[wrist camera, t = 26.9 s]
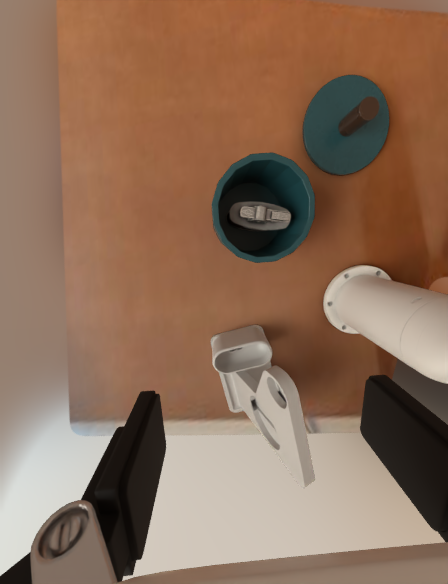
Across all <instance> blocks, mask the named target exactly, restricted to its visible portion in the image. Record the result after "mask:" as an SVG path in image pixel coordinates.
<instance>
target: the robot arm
mask: <svg viewBox="0 0 448 584" xmlns="http://www.w3.org/2000/svg"><path fill="white" fill-rule="evenodd" d="M328 302H329V303H328ZM323 306H324V312H325V315H326V317H327V319H328V320H329V322H330V323H331V324H332V325H333V326H335V327H336V328H337V329H339V330H341V331H343V332H346V333H351V334H359V333H360V334H362V335H363V336H365V337H366V338H368V339H369V340H371V341H372V342H374V343H375V344H377V345H378V346H380V347H382V348H383V349H385V350H386V351H388V352H389V353H391V354H392V355H394V356H395V357H397V358H398V359H400V360H401V361H403V362H404V363H406V364H407V365H409V366H410V367H412V368H414V369H415V370H417V371H418V372H420V373H421V374H423V375H425V376H427V377H429V378H431V379H433V380H436V381H440V382H443V383H448V294H444V293H440V292H436V291H432V290H428V289H424V288H420V287H415V286H411V285H407V284H403V283H399V282H395V281H392V280H391V278H390V277H389V276H388V275H387V273H385V272H384V271H383V270H381V269H379V268H377V267H373V266H368V265H357V266H353V267H350V268H348V269H345V270H343V271H342V272H341V273H339V274H338V275H337V276H336V277H335V278H334V279H333V280H332V281H331V283H330V284H329V285H328V287H327V290H326V292H325V295H324V301H323ZM360 430H361V434H362V436H363V437H364V439H365V440H366V441H367V443H368V444H369V445H370V447H371V448H372V449H373V451H374V452H375V453H376V455H377V456H378V458H379V459H380V460H381V461H382V463H383V464H384V465H385V467H386V468H387V469H388V471H389V472H390V474H391V475H392V476H393V477H394V479H395V480H396V482H397V483H398V484H399V486H400V487H401V488H402V490H403V491H404V492H405V494H406V495H407V496H408V498H410V500H411V502H412V503H413V504H414V506H415V507H416V508H417V509H418V511H419V512H420V514H421V515H422V516H423V518H424V519H425V520H426V521H427V523H428V524H429V525H430V527H431V528H432V529H434V530H435V531H438V532H439V534H440V535H441V537H442V538H443V539H444V540H445V542H446V543H435V544H425V545H424V544H423V545H413V546H401V547H390V548H380V549H370V550H359V551H348V552H339V553H329V554H318V555H307V556H298V557H287V558H279V559H269V560H259V561H250V562H240V563H230V564H221V565H212V566H204V567H197V568H189V569H180V570H173V571H165V572H159V573H154V574H149V575H144V576H139V577H134V578H131V579H128V580H125V581H122V579H123V576H128V575H133V572H134V567H135V563H136V560H140V559H141V558H142V555H143V551H144V547H145V543H146V538H147V534H148V529H149V525H150V520H151V516H152V511H153V506H154V502H155V497H156V493H157V488H158V484H159V479H160V475H161V470H162V466H163V461H164V457H165V451H166V440H165V432H164V425H163V417H162V409H161V402H160V395H159V394H155V391H142V392H140V394H139V396H138V398H137V401H136V403H135V405H134V407H133V409H132V411H131V413H130V416H129V418H128V420H127V422H126V424H125V426H124V427H118V428H117V429H116V431H115V433H114V435H113V437H112V439H111V441H110V443H109V445H108V447H107V449H106V451H105V453H104V455H103V457H102V459H101V461H100V463H99V465H98V467H97V469H96V471H95V473H94V475H93V477H92V479H91V481H90V483H89V485H88V487H87V489H86V491H85V493H84V495H83V497H82V499H81V500H78V501H74V502H71V503H69V504H67V505H65V506H64V507H62V508H60V509H59V510H58V511H56V512H55V513H54V514H52V515H51V516H50V518H49V519H48V520H47V521H46V522H45V523H44V524H43V525H42V527H41V528H40V530H39V531H38V533H37V534H36V537H35V539H34V541H33V544H32V546H31V552H30V553H29V554H27V555H26V556H25V557H24V558H22V559H21V560H20V561H19V562H17V563H16V564H15V565H14V566H12V567H11V568H10V569H9V570H7V571H6V572H5V573H4V574H2V575H1V576H0V584H448V425H447V424H446V423H445V422H443V421H442V420H441V419H440V418H438V417H437V416H436V415H435V414H433V413H432V412H431V411H430V410H428V409H427V408H426V407H425V406H423V405H422V404H421V403H420V402H418V401H417V400H416V399H415V398H413V397H412V396H411V395H410V394H409V393H407V392H406V391H405V390H404V389H402V388H401V387H400V386H398V385H397V384H396V383H395V382H393V381H392V380H391V379H390V378H389V377H387V376H386V375H374V376H370V377H369V379H368V380H366V385H365V393H364V401H363V409H362V417H361V426H360Z"/></svg>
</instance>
